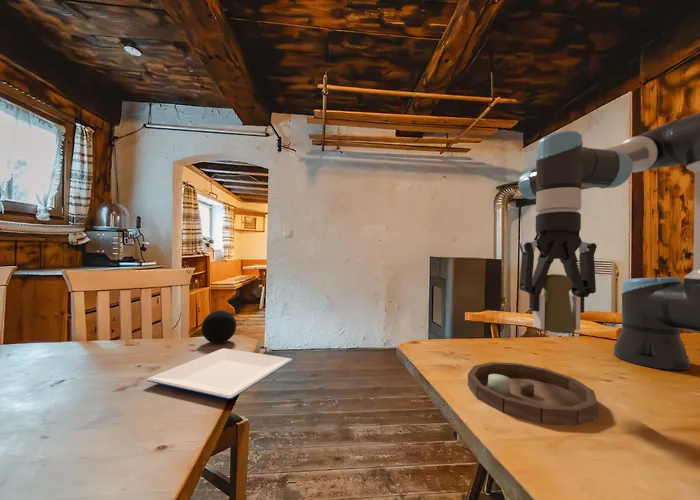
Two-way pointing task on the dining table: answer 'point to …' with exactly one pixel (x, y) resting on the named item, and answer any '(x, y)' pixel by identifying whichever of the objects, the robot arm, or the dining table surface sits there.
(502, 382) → the pale beige rounded lump
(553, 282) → the olive green knobbed peg
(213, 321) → the decorative ball
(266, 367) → the plate
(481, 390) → the tray
